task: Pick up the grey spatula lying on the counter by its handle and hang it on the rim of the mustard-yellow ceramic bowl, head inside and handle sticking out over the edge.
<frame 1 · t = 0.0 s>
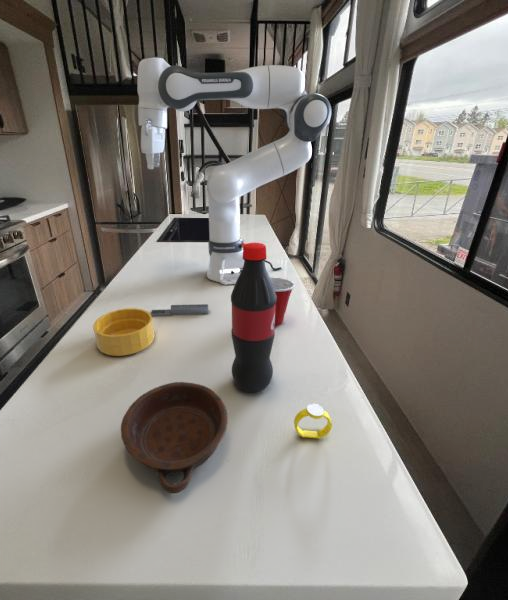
hand: (153, 168, 107), 39 cm above the table, tool pointing down, fingers open, 8 cm apart
dish: (177, 439, 56), on the table
bowl: (126, 341, 84), on the table
cola bottle: (251, 383, 68), on the table
plastic cup: (272, 321, 92), on the table
grey spatula: (179, 313, 97), on the table
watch: (310, 436, 56), on the table
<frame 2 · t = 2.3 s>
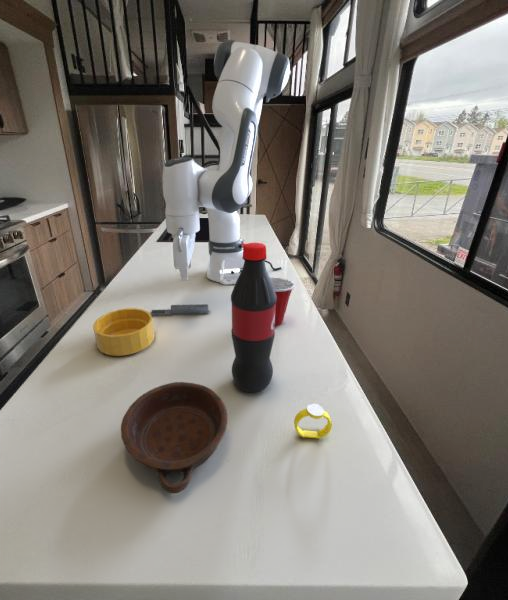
hand: (186, 273, 92), 13 cm above the table, tool pointing down, fingers open, 8 cm apart
nothing on the table moved.
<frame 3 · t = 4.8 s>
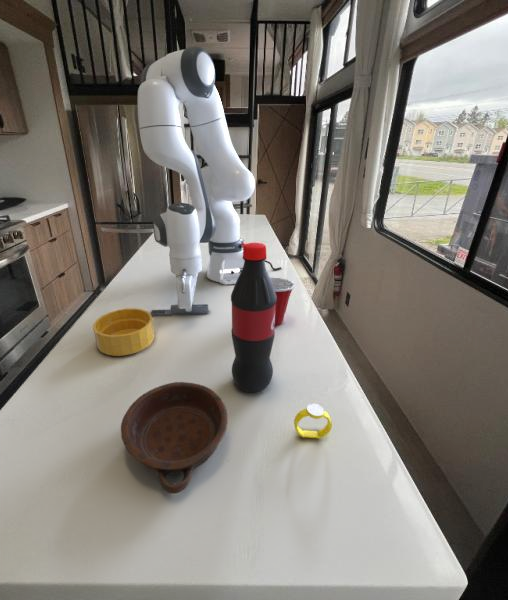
hand: (189, 308, 96), 2 cm above the table, tool pointing down, fingers closed on grey spatula, 1 cm apart
grey spatula: (179, 313, 97), on the table, touching gripper
everything else where it was.
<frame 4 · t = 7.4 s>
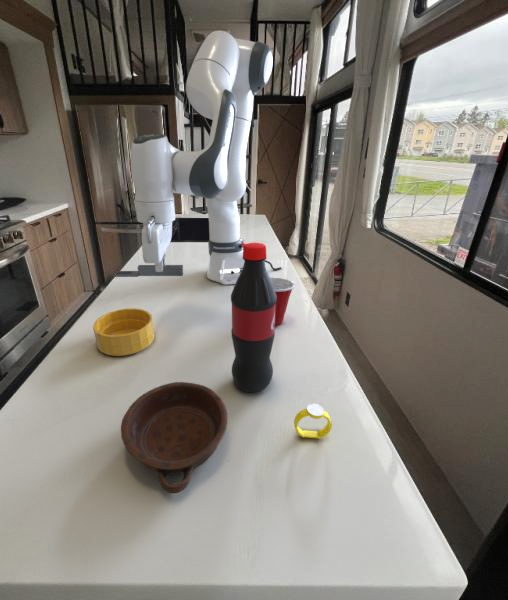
hand: (160, 268, 81), 18 cm above the table, tool pointing down, fingers closed on grey spatula
grey spatula: (149, 274, 81), point 16 cm above the table, touching gripper
everything else where it was.
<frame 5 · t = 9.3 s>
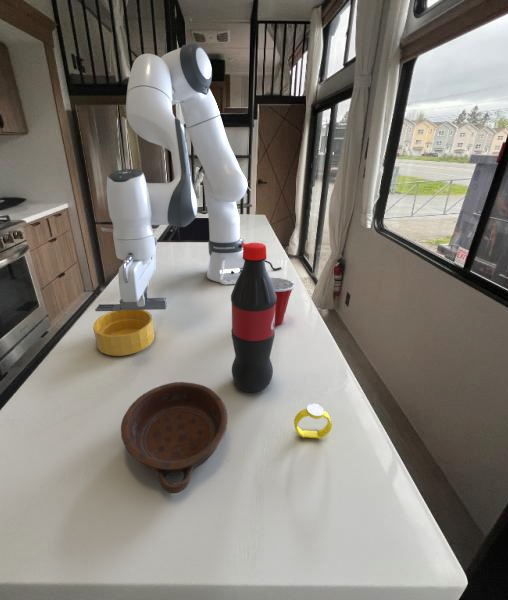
hand: (143, 302, 79), 11 cm above the table, tool pointing down, fingers closed on grey spatula
grey spatula: (131, 308, 80), point 10 cm above the table, touching gripper
everything else where it was.
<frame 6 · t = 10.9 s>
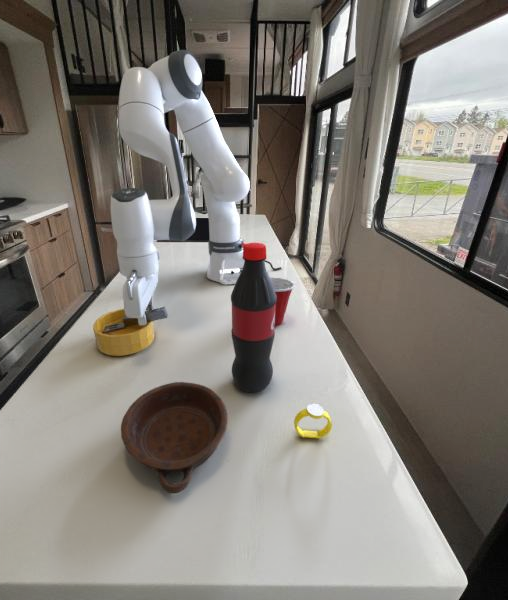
hand: (146, 316, 81), 7 cm above the table, tool pointing down, fingers open, 6 cm apart
grey spatula: (135, 323, 82), point 5 cm above the table, tilted 13°, touching bowl
everything else where it was.
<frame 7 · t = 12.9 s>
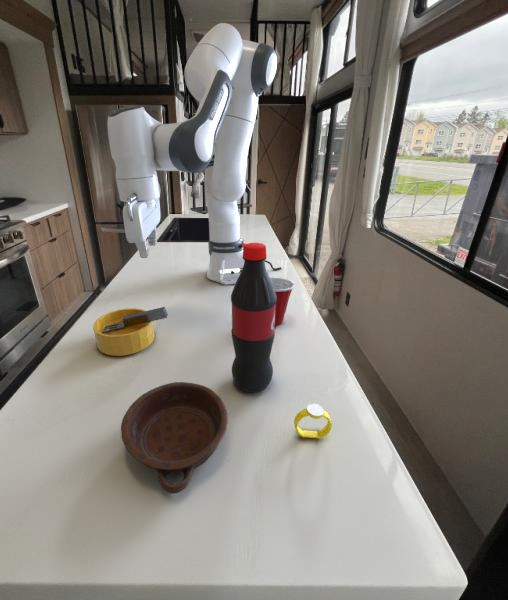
hand: (149, 250, 78), 23 cm above the table, tool pointing down, fingers open, 8 cm apart
nothing on the table moved.
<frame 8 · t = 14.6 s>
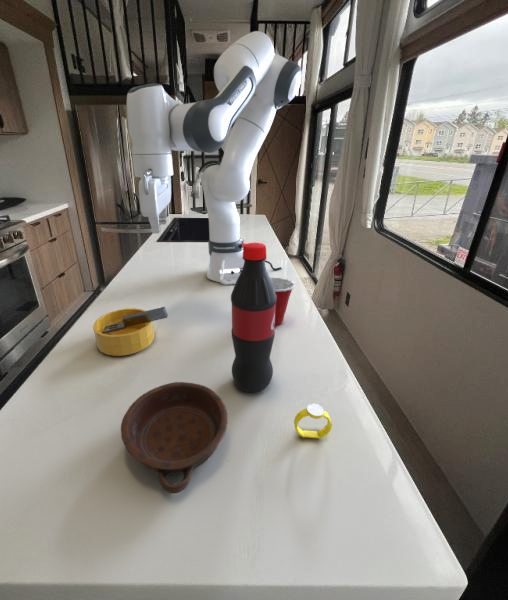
hand: (159, 228, 80), 27 cm above the table, tool pointing down, fingers open, 8 cm apart
nothing on the table moved.
at the end: grey spatula touching bowl; grey spatula inside the target area on the bowl (3.0 cm from its centre), point 5.2 cm above the bowl's base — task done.
